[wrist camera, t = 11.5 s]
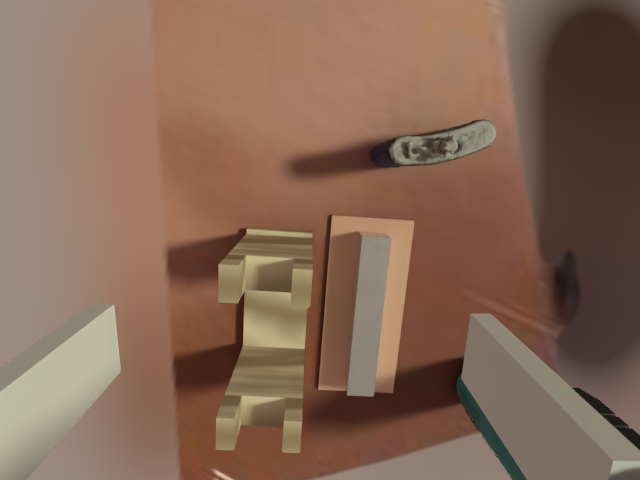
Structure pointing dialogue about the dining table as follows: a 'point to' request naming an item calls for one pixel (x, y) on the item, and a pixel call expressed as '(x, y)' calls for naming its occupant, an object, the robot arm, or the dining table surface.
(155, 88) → the dining table surface
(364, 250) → the rail
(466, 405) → the beverage bottle
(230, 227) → the dining table surface
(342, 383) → the mat
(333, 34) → the dining table surface
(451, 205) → the dining table surface
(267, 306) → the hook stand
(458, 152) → the flask
